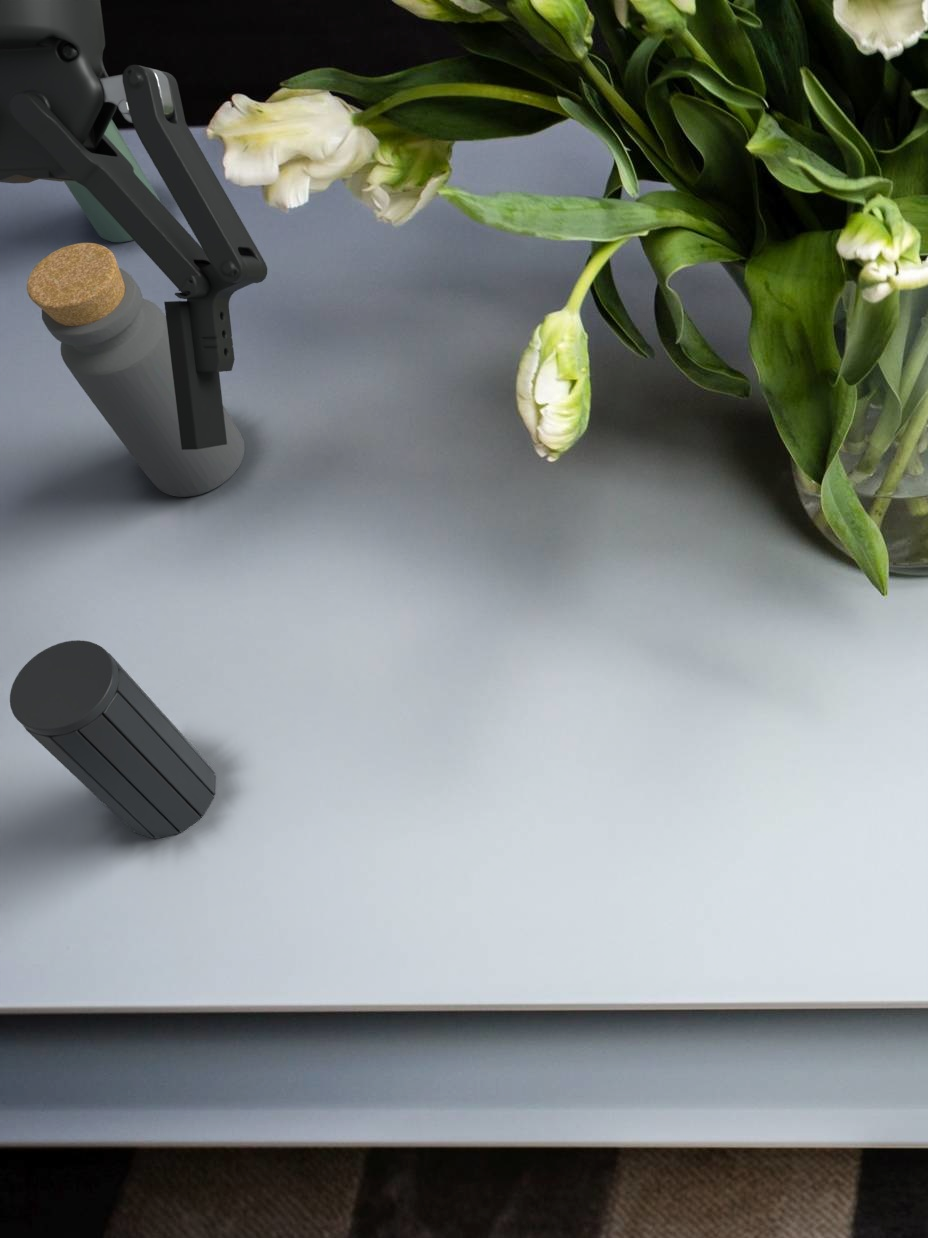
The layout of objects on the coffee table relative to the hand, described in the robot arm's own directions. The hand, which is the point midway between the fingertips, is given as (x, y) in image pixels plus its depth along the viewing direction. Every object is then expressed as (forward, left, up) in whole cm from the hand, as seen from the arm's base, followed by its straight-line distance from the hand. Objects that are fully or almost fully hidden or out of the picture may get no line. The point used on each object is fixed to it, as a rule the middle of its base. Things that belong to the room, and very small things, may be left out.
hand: (67, 450), depth 76 cm
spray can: (-25, +29, -17) cm, 41 cm away
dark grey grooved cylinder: (+2, -9, -17) cm, 19 cm away
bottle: (-9, +11, -17) cm, 22 cm away
